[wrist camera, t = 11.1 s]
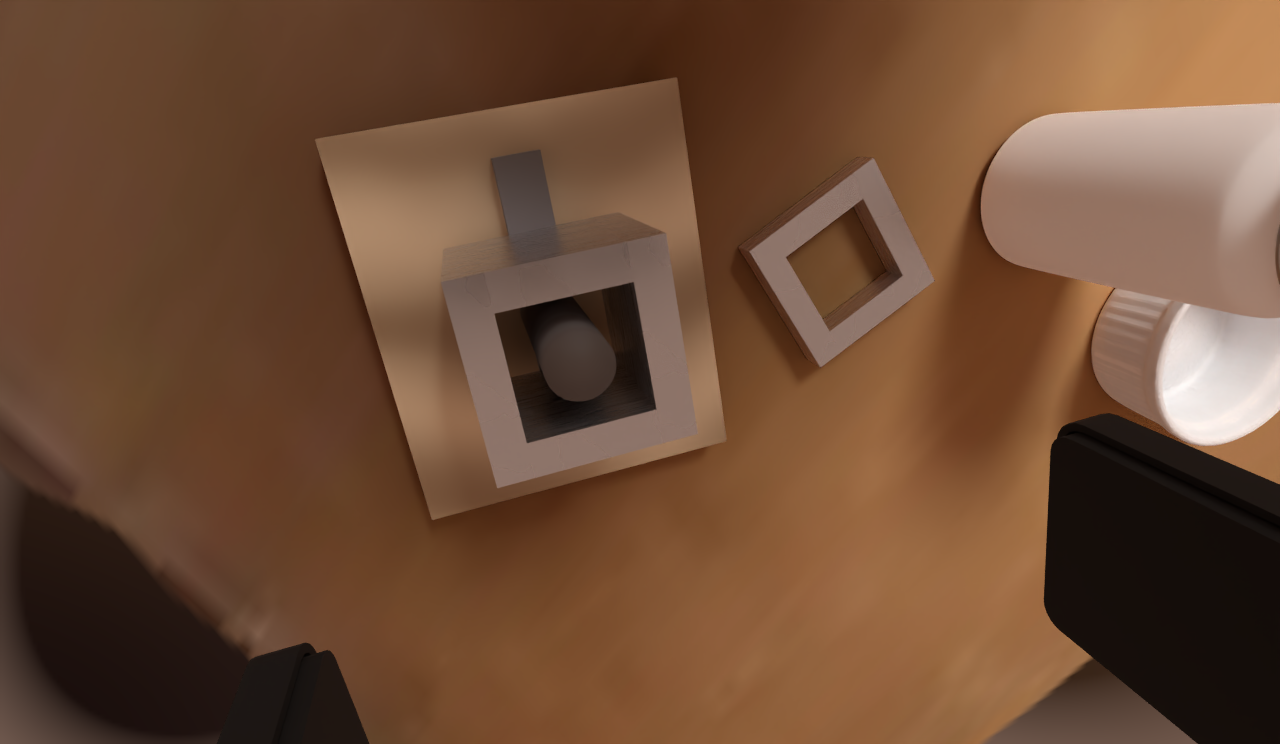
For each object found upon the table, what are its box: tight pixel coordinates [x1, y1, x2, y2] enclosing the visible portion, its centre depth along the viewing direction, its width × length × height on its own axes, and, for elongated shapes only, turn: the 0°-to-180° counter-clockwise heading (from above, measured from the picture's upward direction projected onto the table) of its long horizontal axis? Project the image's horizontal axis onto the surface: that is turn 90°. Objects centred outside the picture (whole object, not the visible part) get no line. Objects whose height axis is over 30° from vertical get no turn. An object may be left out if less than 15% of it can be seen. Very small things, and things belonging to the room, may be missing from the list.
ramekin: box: [1091, 288, 1280, 446], centre depth 33 cm, size 9×9×4 cm
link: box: [441, 212, 698, 488], centre depth 22 cm, size 6×6×6 cm
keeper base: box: [315, 77, 727, 520], centre depth 23 cm, size 14×12×8 cm
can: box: [981, 103, 1280, 318], centre depth 26 cm, size 6×6×12 cm
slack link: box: [738, 157, 935, 368], centre depth 29 cm, size 6×6×1 cm
